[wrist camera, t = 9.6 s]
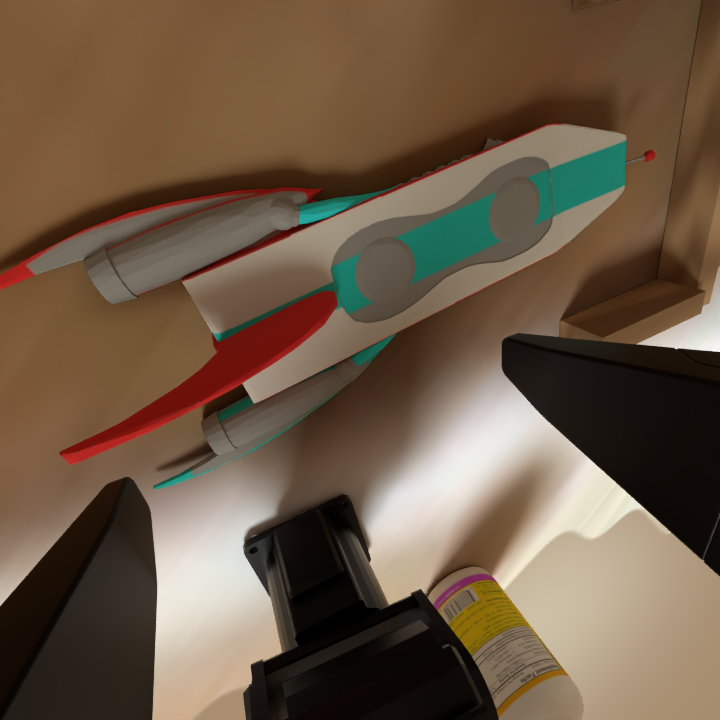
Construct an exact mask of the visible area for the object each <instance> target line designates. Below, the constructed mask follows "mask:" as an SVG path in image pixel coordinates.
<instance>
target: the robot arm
mask: <svg viewBox="0 0 720 720" xmlns="http://www.w3.org/2000/svg"><path fill="white" fill-rule="evenodd" d="M502 370H503V372H504V374H505V375H506V377H507V378H508V379H509V380H510V381H511V382H512V383H513V384H514V385H515V387H516V388H517V389H518V390H519V391H520V392H521V393H522V394H523V395H524V396H525V398H526V399H527V400H528V401H529V402H530V403H531V404H532V405H533V406H534V408H535V409H536V410H537V411H538V412H539V413H540V414H541V415H542V416H543V417H544V418H545V419H546V420H547V421H548V422H549V423H551V424H552V425H553V426H554V427H555V428H556V429H557V430H558V431H559V432H561V433H562V434H563V435H564V436H565V437H566V438H567V439H568V440H569V441H571V442H572V443H573V444H574V445H575V446H576V447H577V448H578V449H579V450H580V451H582V452H583V453H584V454H585V455H586V456H587V457H588V458H589V459H590V460H592V461H593V462H594V463H595V464H596V465H597V466H598V467H599V468H600V469H602V470H603V471H604V472H605V473H606V474H607V475H608V476H609V477H610V478H612V479H613V480H614V481H615V482H616V483H617V484H618V485H619V486H620V487H621V488H623V489H624V490H625V491H626V492H627V493H628V494H629V495H630V496H631V497H633V498H634V499H635V500H636V501H637V502H638V503H639V504H640V505H641V506H643V507H644V508H645V509H646V510H647V511H648V512H649V513H650V514H651V515H653V516H654V517H655V518H656V519H657V520H658V521H659V522H660V523H661V524H662V525H664V526H665V527H666V528H667V529H668V530H669V531H670V532H671V533H672V534H674V535H675V536H676V537H677V538H678V539H679V540H680V541H681V542H683V543H684V544H685V545H686V546H687V547H688V548H689V549H690V550H691V551H693V552H694V553H695V554H696V555H697V556H698V557H699V558H700V559H702V560H704V563H705V564H706V565H708V566H709V567H710V568H711V569H712V570H713V571H714V572H715V573H717V574H718V575H719V576H720V352H713V351H701V350H690V349H677V350H676V349H675V348H668V347H658V346H647V345H637V344H626V343H616V342H605V341H595V340H584V339H574V338H563V337H553V336H542V335H532V334H522V333H518V334H514V335H511V336H509V337H506V338H505V339H504V340H503V342H502ZM343 503H344V504H343ZM342 504H343V505H342ZM253 547H254V548H253ZM243 548H244V554H245V556H246V558H247V559H248V561H249V563H250V564H251V566H252V568H253V569H254V571H255V573H256V575H257V576H258V578H259V580H260V581H261V583H262V585H263V586H264V588H265V590H266V591H267V593H268V595H269V596H270V598H271V601H272V606H273V611H274V615H275V620H276V625H277V630H278V634H279V639H280V644H281V649H282V653H281V654H279V655H276V656H274V657H272V658H270V659H267V660H265V661H263V659H262V660H260V661H258V662H255V663H253V664H251V672H252V684H250V685H249V687H248V688H247V690H246V691H245V692H244V693H243V697H244V705H245V713H246V720H499V717H498V714H497V710H496V707H495V704H494V701H493V698H492V696H491V693H490V691H489V688H488V686H487V684H486V681H485V679H484V677H483V675H482V673H481V671H480V669H479V667H478V666H477V664H476V662H475V661H474V659H473V657H472V656H471V654H470V653H469V651H468V650H467V648H466V647H465V646H464V644H463V643H462V642H461V641H460V639H459V638H458V637H457V635H456V634H455V633H454V632H453V630H452V629H451V628H450V626H449V625H448V624H447V622H446V621H445V620H444V619H443V617H442V616H441V615H440V613H439V612H438V611H437V609H436V608H435V607H434V606H433V604H432V603H431V602H430V600H429V599H428V598H427V596H426V595H425V594H424V593H423V591H422V590H421V589H419V590H417V591H415V592H412V593H411V596H408V597H406V598H404V599H402V600H399V601H397V602H395V603H393V604H390V605H389V604H388V602H387V599H386V597H385V595H384V593H383V591H382V589H381V587H380V585H379V583H378V580H377V578H376V576H375V574H374V572H373V570H372V568H371V566H370V564H369V563H370V561H371V558H370V555H369V552H368V549H367V546H366V543H365V540H364V537H363V534H362V531H361V528H360V525H359V522H358V519H357V516H356V513H355V510H354V507H353V504H352V502H351V500H350V498H349V496H347V495H341V496H339V497H337V498H334V499H332V500H330V501H328V502H326V503H324V504H322V505H320V506H318V507H316V508H314V509H312V510H309V511H307V512H305V513H303V514H301V515H299V516H297V517H295V518H293V519H291V520H289V521H287V522H284V523H282V524H280V525H278V526H276V527H274V528H272V529H270V530H268V531H266V532H264V533H262V534H259V535H257V536H255V537H253V538H251V539H249V540H248V541H246V542H245V543H244V546H243ZM156 608H157V575H156V563H155V552H154V541H153V530H152V519H151V512H150V508H149V506H148V504H147V502H146V500H145V499H144V497H143V495H142V494H141V492H140V490H139V489H138V487H137V485H136V484H135V482H134V481H133V480H132V479H131V478H130V477H124V478H122V479H119V480H116V481H113V482H111V483H108V484H107V485H106V486H105V487H104V488H103V489H102V490H101V491H100V492H99V493H98V495H97V496H96V497H95V498H94V499H93V500H92V502H91V503H90V504H89V505H88V506H87V507H86V508H85V510H84V511H83V512H82V513H81V514H80V515H79V516H78V518H77V519H76V520H75V521H74V522H73V523H72V524H71V526H70V527H69V528H68V529H67V530H66V531H65V533H64V534H63V535H62V536H61V537H60V538H59V539H58V541H57V542H56V543H55V544H54V545H53V546H52V547H51V549H50V550H49V551H48V552H47V553H46V554H45V556H44V557H43V558H42V559H41V560H40V561H39V562H38V564H37V565H36V566H35V567H34V568H33V569H32V570H31V572H30V573H29V574H28V575H27V576H26V577H25V578H24V580H23V581H22V582H21V583H20V584H19V585H18V587H17V588H16V589H15V590H14V591H13V592H12V593H11V595H10V596H9V597H8V598H7V599H6V600H5V601H4V603H3V604H2V605H1V606H0V720H152V712H153V686H154V660H155V634H156Z"/></svg>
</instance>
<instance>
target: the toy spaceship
mask: <svg viewBox="0 0 720 720" xmlns="http://www.w3.org/2000/svg"><path fill="white" fill-rule="evenodd" d="M626 147H627V143H626V136H625V135H624V134H621V133H618V132H614V131H608V130H601V129H595V128H589V127H582V126H576V125H570V124H563V123H548V124H546V125H544V126H541V127H539V128H536V129H534V130H532V131H529V132H527V133H524V134H522V135H520V136H517V137H515V138H513V139H510V140H508V141H501V140H495V141H494V140H492V139H490V138H488V137H487V142H486V144H485V146H484V148H483V150H482V151H481V152H479V153H477V154H474V155H465V156H462V157H461V159H460V160H453V161H451V162H449V163H448V164H447V166H444V165H442V166H439V167H436V169H435V171H432V172H431V171H427V172H425V173H423V174H422V176H421V177H413V178H411V179H409V181H408V182H407V183H400V184H397V185H395V187H392V188H389V189H386V190H383V191H379V192H374V193H369V194H364V195H357V196H348V197H340V198H333V199H328V200H323V201H315V200H313V198H314V196H315V195H317V194H318V193H319V192H320V191H321V190H323V189H324V188H322V189H305V188H289V187H282V188H277V189H273V190H270V189H252V190H238V191H232V192H226V193H221V194H215V195H209V196H203V197H198V198H192V199H186V200H180V201H175V202H170V203H165V204H161V205H157V206H153V207H149V208H146V209H142V210H138V211H134V212H130V213H126V214H124V215H121V216H118V217H116V218H113V219H110V220H108V221H105V222H102V223H100V224H97V225H94V226H92V227H89V228H86V229H84V230H82V231H80V232H78V233H76V234H74V235H72V236H70V237H68V238H66V239H64V240H62V241H60V242H58V243H56V244H54V245H52V246H50V247H48V248H46V249H44V250H42V251H40V252H38V253H37V254H35V255H33V256H31V257H30V258H28V259H26V260H25V261H23V262H22V263H20V264H18V265H17V266H15V267H13V268H12V269H10V270H8V271H7V272H5V273H4V274H2V275H0V289H3V288H5V287H8V286H10V285H12V284H15V283H17V282H20V281H22V280H25V279H27V278H30V277H32V276H35V275H37V274H40V273H42V272H45V271H49V270H52V269H55V268H58V267H61V266H64V265H68V264H71V263H74V262H77V261H80V260H83V259H84V265H85V268H86V271H87V273H88V275H89V277H90V279H91V280H92V282H93V283H94V285H95V287H96V288H97V290H98V291H99V292H100V293H101V294H102V296H103V297H104V298H105V299H106V300H107V301H109V302H110V303H112V304H116V303H120V302H124V301H128V300H132V299H136V298H138V297H139V295H141V294H143V293H146V292H148V291H151V290H154V289H156V288H159V287H161V286H164V285H166V284H169V283H171V282H174V281H176V280H179V279H181V278H182V282H183V284H184V286H185V287H186V289H187V291H188V292H189V294H190V296H191V298H192V299H193V301H194V303H195V304H196V306H197V308H198V309H199V311H200V313H201V315H202V316H203V318H204V320H205V321H206V323H207V325H208V326H209V328H210V330H211V331H212V339H213V345H214V348H215V349H216V351H217V353H216V354H215V355H214V356H213V357H212V358H211V359H210V360H209V361H208V362H207V363H206V364H205V365H204V366H203V367H202V368H201V369H200V370H199V371H198V372H196V373H195V374H194V375H193V376H191V377H190V378H189V379H187V380H186V381H185V382H183V383H182V384H181V385H179V386H178V387H177V388H175V389H173V390H172V391H170V392H169V393H167V394H165V395H164V396H162V397H161V398H159V399H158V400H156V401H154V402H153V403H151V404H150V405H148V406H146V407H145V408H143V409H142V410H140V411H139V412H137V413H135V414H134V415H132V416H131V417H129V418H127V419H126V420H124V421H123V422H121V423H119V424H117V425H115V426H113V427H111V428H109V429H107V430H105V431H103V432H101V433H99V434H97V435H95V436H92V437H90V438H88V439H86V440H84V441H82V442H80V443H78V444H76V445H73V446H71V447H69V448H67V449H65V450H63V451H61V452H59V453H60V455H61V456H62V457H63V458H64V459H65V460H66V461H67V462H68V463H69V464H70V465H71V464H74V463H77V462H81V461H83V460H85V459H88V458H90V457H92V456H95V455H97V454H99V453H102V452H104V451H106V450H109V449H111V448H113V447H116V446H118V445H120V444H123V443H125V442H127V441H129V440H132V439H134V438H136V437H139V436H141V435H143V434H146V433H148V432H150V431H152V430H154V429H156V428H158V427H160V426H162V425H164V424H166V423H168V422H170V421H172V420H174V419H176V418H178V417H180V416H182V415H184V414H186V413H188V412H190V411H192V410H193V409H195V408H197V407H199V406H201V405H203V404H205V403H207V402H209V401H211V400H213V399H215V398H217V397H219V396H221V395H223V394H225V393H226V392H228V391H230V390H232V389H234V388H235V387H237V386H239V385H240V384H243V386H244V387H245V389H246V391H247V392H248V394H249V395H248V396H246V397H244V398H242V399H240V400H239V401H237V402H235V403H233V404H231V405H229V406H228V407H226V408H224V409H222V410H220V411H218V410H217V411H215V412H214V413H213V414H211V415H210V416H208V417H207V418H205V419H204V420H203V421H202V422H201V425H202V430H203V433H204V435H205V437H206V439H207V441H208V443H209V445H210V446H211V448H212V449H213V451H214V452H215V453H214V454H212V455H210V456H209V457H207V458H205V459H204V460H202V461H200V462H199V463H197V464H195V465H194V466H192V467H190V468H189V469H187V470H185V471H184V472H182V473H180V474H178V475H176V476H174V477H172V478H170V479H167V480H165V481H163V482H161V483H159V484H157V485H155V486H153V489H160V488H163V487H167V486H171V485H174V484H177V483H179V482H182V481H185V480H187V479H190V478H193V477H195V476H198V475H201V474H204V473H206V472H209V471H211V470H213V469H215V468H218V467H220V466H222V465H224V464H226V463H228V462H231V461H233V460H235V459H237V458H239V457H242V456H244V455H246V454H248V453H250V452H252V451H254V450H256V449H257V448H259V447H261V446H262V445H264V444H266V443H267V442H269V441H271V440H272V439H274V438H275V437H277V436H279V435H280V434H282V433H284V432H285V431H287V430H288V429H290V428H291V427H293V426H294V425H295V424H297V423H298V422H299V421H301V420H302V419H303V418H305V417H306V416H308V415H309V414H310V413H312V412H313V411H314V410H316V409H317V408H318V407H320V406H321V405H322V404H324V403H325V402H327V401H328V400H329V399H331V398H332V397H333V396H334V395H335V394H336V393H337V392H338V391H339V390H341V389H342V388H344V387H345V386H346V385H348V384H349V383H350V382H352V381H353V380H354V379H356V378H357V377H358V376H360V374H361V373H362V372H363V371H364V370H365V369H366V368H367V366H368V365H369V364H370V362H371V361H372V360H373V359H374V358H375V357H376V356H377V355H378V354H379V351H380V350H382V349H383V348H384V347H385V346H386V345H387V344H388V343H389V342H390V341H391V339H392V338H393V337H394V336H395V335H396V334H397V333H398V332H400V331H402V330H404V329H406V328H408V327H410V326H412V325H414V324H416V323H417V322H419V321H421V320H423V319H425V318H427V317H429V316H431V315H433V314H435V313H437V312H439V311H441V310H443V309H445V308H447V307H449V306H451V305H453V304H455V303H457V302H459V301H461V300H463V299H465V298H467V297H469V296H471V295H473V294H475V293H477V292H479V291H481V290H483V289H485V288H487V287H489V286H491V285H493V284H495V283H497V282H499V281H501V280H503V279H505V278H507V277H509V276H511V275H513V274H515V273H517V272H518V271H520V270H522V269H524V268H526V267H528V266H530V265H532V264H534V263H536V262H538V261H540V260H542V259H544V258H546V257H548V256H550V255H552V254H554V253H556V252H557V251H559V250H560V249H561V248H563V247H564V246H565V245H566V244H567V243H568V242H569V241H571V240H572V239H573V238H574V237H575V236H576V235H577V234H578V233H580V232H581V231H582V230H583V229H584V228H585V227H586V226H587V225H589V224H590V223H591V222H592V221H593V220H594V219H595V218H596V217H598V216H599V215H600V214H601V213H602V212H603V211H604V210H605V209H607V208H608V207H609V206H610V205H611V204H612V203H613V202H614V201H615V200H616V199H617V198H618V197H619V196H620V195H621V194H622V192H623V191H624V189H625V170H626V164H629V163H632V162H635V161H640V160H645V162H646V161H650V160H653V159H654V157H655V152H654V151H653V150H649V151H647V152H645V153H644V155H643V156H641V157H638V158H635V159H633V160H629V161H626Z"/></svg>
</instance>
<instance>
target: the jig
mask: <svg viewBox="0 0 720 720" xmlns="http://www.w3.org/2000/svg"><path fill="white" fill-rule="evenodd" d="M613 1H617V0H573V9H572V10H576V9H581V8H585V7H590V6H595V5H599V4H604V3H608V2H613ZM718 266H720V0H703V1H702V7H701V13H700V19H699V25H698V31H697V37H696V44H695V50H694V56H693V62H692V68H691V74H690V80H689V86H688V92H687V98H686V104H685V111H684V117H683V123H682V129H681V135H680V141H679V147H678V153H677V159H676V165H675V172H674V178H673V184H672V190H671V196H670V202H669V208H668V214H667V220H666V226H665V232H664V239H663V245H662V251H661V257H660V263H659V269H658V275H657V279H655V280H653V281H650V282H648V283H646V284H643V285H641V286H639V287H637V288H634V289H632V290H630V291H627V292H625V293H623V294H620V295H618V296H616V297H613V298H611V299H609V300H606V301H604V302H602V303H599V304H597V305H595V306H593V307H590V308H588V309H586V310H583V311H581V312H579V313H576V314H574V315H572V316H569V317H567V318H565V319H562V320H560V337H563V338H574V339H584V340H595V341H605V342H616V343H626V344H637V343H639V342H641V341H643V340H646V339H648V338H650V337H652V336H654V335H656V334H658V333H660V332H662V331H665V330H667V329H669V328H671V327H673V326H675V325H677V324H679V323H681V322H684V321H686V320H688V319H690V318H692V317H694V316H696V315H698V314H701V311H702V307H703V306H704V305H706V304H708V303H710V298H711V294H712V290H713V286H714V282H715V278H716V274H717V269H718Z"/></svg>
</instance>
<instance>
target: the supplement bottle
mask: <svg viewBox="0 0 720 720" xmlns="http://www.w3.org/2000/svg"><path fill="white" fill-rule="evenodd" d="M428 599H429V600H430V602H431V603H432V604H433V606H434V607H435V608H436V609H437V611H438V612H439V613H440V615H441V616H442V617H443V619H444V620H445V621H446V622H447V624H448V625H449V626H450V628H451V629H452V630H453V632H454V633H455V634H456V635H457V637H458V638H459V639H460V641H461V642H462V643H463V644H464V646H465V647H466V648H467V650H468V651H469V653H470V654H471V656H472V657H473V659H474V661H475V662H476V664H477V666H478V667H479V669H480V671H481V673H482V675H483V677H484V679H485V681H486V684H487V686H488V688H489V691H490V693H491V696H492V698H493V701H494V704H495V707H496V710H497V714H498V717H499V720H581V719H582V715H583V700H582V696H581V694H580V692H579V689H578V688H577V686H576V685H575V683H574V682H573V681H572V680H571V678H570V677H569V675H568V674H567V673H566V672H565V670H564V669H563V668H562V666H560V664H559V663H558V661H557V660H556V659H555V657H554V656H553V655H552V653H551V652H550V651H549V649H548V648H547V647H546V646H545V644H544V643H543V642H542V641H541V639H540V638H539V637H538V635H537V634H536V633H535V631H534V630H533V629H532V627H531V626H530V625H529V623H528V622H527V621H526V620H525V618H524V617H523V616H522V614H521V613H520V612H519V610H518V609H517V608H516V607H515V605H514V604H513V603H512V601H511V600H510V599H509V597H508V596H507V595H506V593H505V592H504V591H503V589H502V588H501V587H500V586H499V584H498V583H497V582H496V580H495V579H494V578H493V577H492V575H491V574H490V573H489V572H488V571H486V570H485V569H483V568H480V567H468V568H464V569H461V570H458V571H456V572H454V573H452V574H450V575H448V576H447V577H446V578H444V579H443V580H442V581H441V582H439V583H438V584H437V585H436V586H435V588H434V589H433V590H432V591H431V593H430V594H429V596H428Z"/></svg>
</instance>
